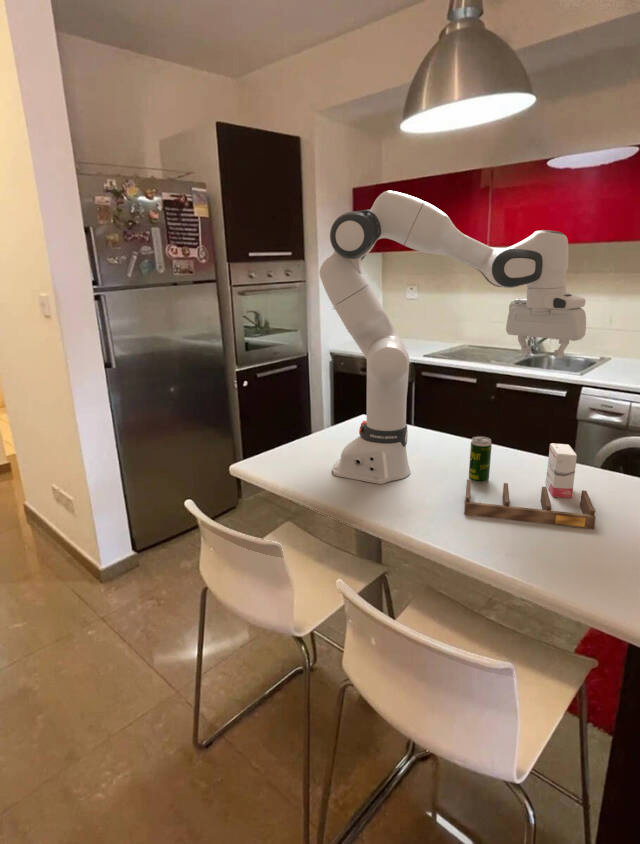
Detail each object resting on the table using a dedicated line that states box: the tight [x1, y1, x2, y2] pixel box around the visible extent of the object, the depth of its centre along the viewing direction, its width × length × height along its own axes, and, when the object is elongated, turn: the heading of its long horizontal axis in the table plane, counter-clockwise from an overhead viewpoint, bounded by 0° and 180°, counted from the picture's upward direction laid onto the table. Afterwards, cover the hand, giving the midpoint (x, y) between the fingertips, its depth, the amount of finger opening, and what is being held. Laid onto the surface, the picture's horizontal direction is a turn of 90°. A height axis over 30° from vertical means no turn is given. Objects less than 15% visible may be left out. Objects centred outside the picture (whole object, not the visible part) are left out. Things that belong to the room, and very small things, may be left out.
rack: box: [463, 478, 596, 530], centre depth 123 cm, size 28×12×4 cm, turn 73°
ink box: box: [545, 442, 578, 499], centre depth 132 cm, size 9×5×12 cm, turn 168°
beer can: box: [468, 436, 493, 485], centre depth 139 cm, size 5×5×12 cm
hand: (541, 355), depth 130 cm, fingers open, 8 cm apart
